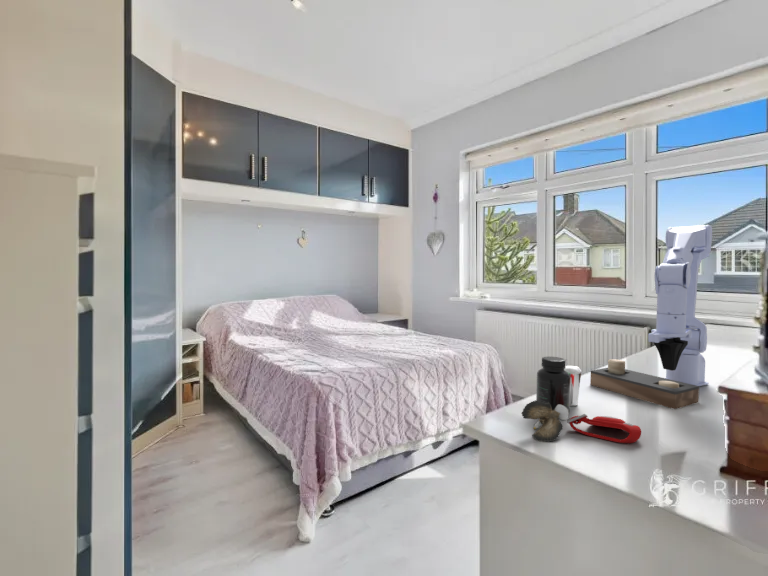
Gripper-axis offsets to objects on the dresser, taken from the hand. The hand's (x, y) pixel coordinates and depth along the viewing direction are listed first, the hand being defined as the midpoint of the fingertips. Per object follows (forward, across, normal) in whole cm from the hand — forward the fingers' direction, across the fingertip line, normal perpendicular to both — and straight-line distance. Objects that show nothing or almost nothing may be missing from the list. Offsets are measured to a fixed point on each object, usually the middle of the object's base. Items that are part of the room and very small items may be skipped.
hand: (669, 369), depth 94 cm
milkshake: (+8, +23, -10) cm, 26 cm away
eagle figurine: (+8, +42, 0) cm, 42 cm away
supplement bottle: (+8, +31, -8) cm, 33 cm away
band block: (+8, 0, -6) cm, 10 cm away
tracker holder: (+8, +32, +5) cm, 33 cm away
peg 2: (+7, 0, 0) cm, 7 cm away
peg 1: (+4, 0, -13) cm, 14 cm away
